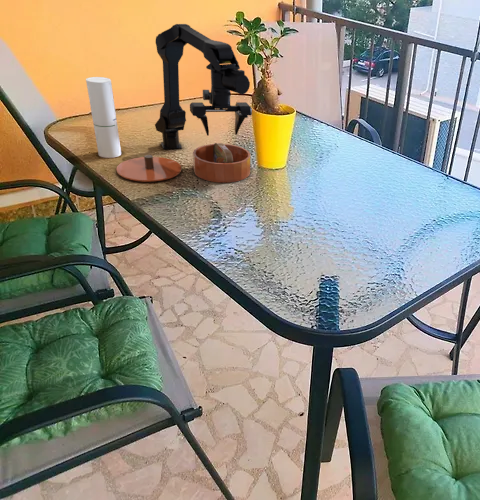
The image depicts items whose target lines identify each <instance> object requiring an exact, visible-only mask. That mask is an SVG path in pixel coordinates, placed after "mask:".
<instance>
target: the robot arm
mask: <svg viewBox="0 0 480 500" xmlns="http://www.w3.org/2000/svg"><path fill="white" fill-rule="evenodd" d="M154 42H155V46H156V47H155V48H156V53H157V54H158V56H159V58H160V59H161V60H162V78H163V80H162V81H163V99H164V100H163V101H164V102H163V105H162V107H161V108H160V110H159V118H158V120H157V121H156V122H155V124H154V127H155V130H156V131H157V132H159V133H161V135H162V141H161V142H160V145H161V148H162V149H163V150H181V149H183V147H182V145H181V142H180V132H179V131H184V130H185V125H186V122H187V119H186V115H187V114H186V113H187V112H186V111H185V110H184V109H183V108H182V106H181V105H180V74H179V73H180V72H179V71H180V70H179V62H180V61H181V59H182V57H183V56H184V48H185V46H186V45H187V44H188V45H189V46H191V47H193V48H195V49H196V50H198V51H199V52H201V53H202V54H203V58H204V59H205V60H206V61H207V62H209V64H207V65H206V69H207V70H208V71H209V70H210V84H211V85H210V89H202V99H203V101H208V103H209V104H210V105H205V104H204V103H203V102H198V101H197V102H196V101H195V102H193V101H192V102H190V104H189V112H190V113H191V115H192V116H193V117H196V118H197V119H199V120H200V121H201V123H202V126H203V128H204V131H205V134H206V136H209V135H210V130H209V121H208V116H207V115H206V114H207V113H234V135H235V136H236V135H238V133H239V130H240V128H241V126H242V125H243V123H244V121H245V119H248V118H249V116H252V114H253V109H252V106H250V104H249V103H248V102H246V101H245V102H242V101H241V102H240V101H239V102H238V101H237V102H236V103H235V105H231V95H232V94H231V93H232V92H233V93H235V94H239V95H245V94H246V93H248V91H249V89H250V86H251V84H250V83H251V82H250V79H249V77H248V76H247V75H245V74H246V73H245V70H243V69H241V67H240V64H239V61H238V60H237V56H236V55H235V53H234V51H233V49H232V48H233V47H232V46H231V45H230V44H229V43H227V42H223V41H219V40H214V39H211V38H209V37H208V36H206V35H204V34H203V33H202V32H200V31H198V30H196V29H194V28H193V27H191V25H189V24H187V23H175V24H173V25H172V26H171V27H169V28H168V29H165V30H164V31H161V32H160V33H159V34H157V35H156V36H155V41H154Z"/></svg>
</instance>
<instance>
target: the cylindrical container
mask: <svg viewBox="0 0 480 500" xmlns="http://www.w3.org/2000/svg"><path fill="white" fill-rule="evenodd" d="M85 82H86V88H87V93H88V94H87V95H88V100H89V105H90V112H91V118H92V123H93V129H94V136H95V142H96V147H97V152H98V153H97V154H98V156H99V157H101V158H106V159H108V158H109V159H113V158H118V157H120V156H121V155H122V148H121V142H120V134H119V128H118V127H119V126H118V120H117V113H116V105H115V99H114V92H113V85H112V79H111V78H109V77H103V76H92V77H90V76H89V77H86V78H85Z"/></svg>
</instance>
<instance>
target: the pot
mask: <svg viewBox="0 0 480 500" xmlns="http://www.w3.org/2000/svg"><path fill="white" fill-rule="evenodd" d="M214 144H215V143H211V144H203V145H201V146H198V147H196V148H195V149H193V151H192V163H193V165H192V167H193V172H194V174H195V176H197V177H198V178H200V179H202V180H205V181H208V182H213V183H235V182H240V181H242V180H243V181H244V180H245V179H247V178H248V177H249V176H250V175H251V161H252V159H251V158H252V157H251V156H252V155H251V152H250V151H249V150H248V149H246V148H244V147H242V146H239V145H235V144H230V143H229V144H228V143H223V144H224V145H225V146H226V147H227V148H228V149H229V150H230V151H231V153H232V156H233V163H214V159H213V147H214Z"/></svg>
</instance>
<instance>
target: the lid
mask: <svg viewBox="0 0 480 500" xmlns="http://www.w3.org/2000/svg"><path fill="white" fill-rule="evenodd" d="M181 172H182V165H181V164H180V163H179V162H177V161H176V160H174V159H170V158H168V157H162V156H161V157H160V156H153V155H151V154H146V155H144V156H141V157H135V158H130V159H126V160H124V161H122V162H120V163H119V164H118V165H117V166H116V173H117V174H118V176H120V177H122V178H124V179H127V180H130V181H136V182H159V181H161V182H162V181H165V180H170V179H173V178H174V177H176V176H178V175H179V174H180V173H181Z"/></svg>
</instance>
